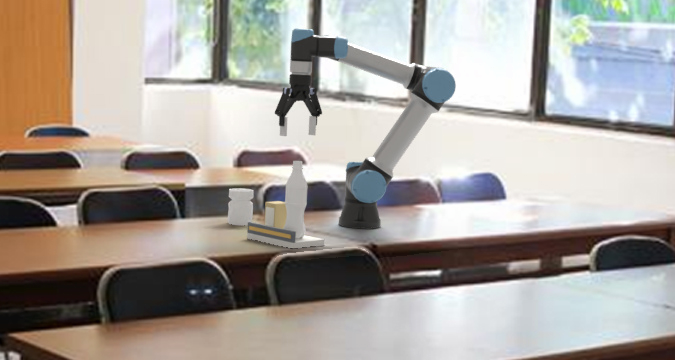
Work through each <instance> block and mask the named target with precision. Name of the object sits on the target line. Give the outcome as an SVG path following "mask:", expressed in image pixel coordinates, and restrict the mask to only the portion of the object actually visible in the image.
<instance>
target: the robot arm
mask: <svg viewBox="0 0 675 360" xmlns="http://www.w3.org/2000/svg"><path fill="white" fill-rule="evenodd" d="M291 31H292V32H291V40H290V61H289V62H290V64H289V72H290V74H289V78H288V79H289V82H288V83H289V86H290V87H283V88H282V93H281V95H280V99H279V100H278V103H277V106H276V108H275V111H274V114H275V115H276V116H277V117H278V118H279V119H278V120H279V121H278V126H279V136H281V137H287V136H288V135H287V134H288V116H287V115H288V114H289V111H290V110H291V109H292V107H293V106H294V104H295V103H296V102H303V103H304V105H305V106H306V108H307V110H308V112H309V113H310V115H309V119H308V135H309V136H316V130H317V129H316V128H317V125H318V117H321V115H323V111H322V107H321V104H320V101H319V97H318V95H317V94H318V93H317V91H318V90H317V88H316V87H310V86H311V85H312V75H311V74H312V72H313V71H312V70H313V58H327V59H330V60H333V61H335V62H339V63H341V64H344V65H347V66H349V67H353V68H356V69H358V70H361V71H363V72H367V73H370V74H373V75H375V76H379V77H380V78H383V79H386V80H389V81H392V82H395V83H397V84H400V85H402V86H403V88H404V89H405V90H409V91H410V93H409V94H410V101H409V102H408V104H407V105H406V107H405V108H404V109H403V111H402V112H401V114H400V115H399V117H398V118H397V120H396V122H395V123H394V124H393V126H392V127H391V129H390V130H389V131H388V133H387V134H386V135H385V137H384V139H383V140H382V141H381V143H380V144H379V146H378V147H377V149H376V150H375V151H374V153H373V154H372V155H371V156H368V157H365V159H364V160H363V161H349V162H347V163H346V167H345V186H344V187H345V188H344V189H345V190H344V192H345V193H344V204H343V207H342V210H341V213H340V216H339V217H338V225H339V226H341V227H346V228H351V229H376V228H377V229H378V228H381V226H382V225H381V222H382V221H381V218H380V215H379V210H378V201H380V200H381V199H382V198H383V196H384V195H385V193H386V191H387V187H388V185H389V184H390V182H391V181H392V179H394V173H393V170H394V169H395V167H396V166H397V164H398V163H399V162H400V160H401V159H402V157H403V156H404V155H405V153H406V151H407V150H408V149H409V147H410V146H411V144H412V142H413V141H414V140H415V139H416V138H417V137H416V136H418V134H419V133H420V131H421V130H422V128H423V127H424V125H425V124H426V122H428V119H429V118H430V117H431V115H432V114H436V113H439V111H440V110H441V108H442V107H443V105H444V104H445V103H446V102H448V101H449V100H450V99H451V98H452V97H453V96H454V94H455V92H456V86H457V85H456V80H455V78H454V76H453V75H452V73H451V72H450V71H448V70H447V69H445V68H443V67H439V66H438V67H435V66H426V65H421V64H419V63H415V62H412V63H407V62H404V61H401V60H399V59H395V58H392V57H390V56H387V55H384V54H382V53H378V52H375V51H372V50H370V49H367V48H365V47H361V46H360V45H356V44H353V43H350V42H349V40H348V38H347V37H346V36H340V35H329V34H328V35H327V34H326V35H325V34H324V35H318V34H315V33H314V32H315V31H314V30H313V29H312V28H311V29H310V28H293V30H291Z"/></svg>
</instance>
